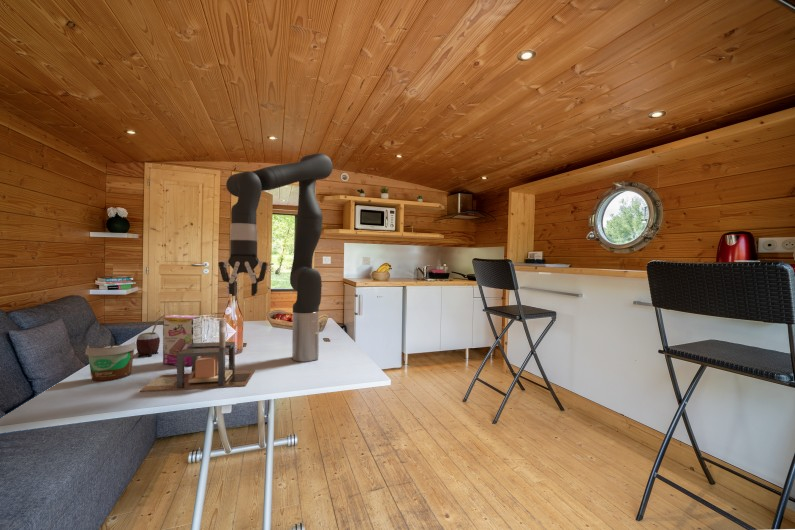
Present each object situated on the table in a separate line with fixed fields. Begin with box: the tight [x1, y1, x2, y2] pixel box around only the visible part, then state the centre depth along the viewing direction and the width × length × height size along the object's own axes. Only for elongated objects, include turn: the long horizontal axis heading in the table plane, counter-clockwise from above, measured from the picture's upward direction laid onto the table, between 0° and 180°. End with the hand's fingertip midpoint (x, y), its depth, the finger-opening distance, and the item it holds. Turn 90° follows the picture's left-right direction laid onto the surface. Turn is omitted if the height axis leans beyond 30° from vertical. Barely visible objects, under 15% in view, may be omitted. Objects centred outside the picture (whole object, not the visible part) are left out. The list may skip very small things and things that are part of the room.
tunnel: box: [139, 341, 256, 393], centre depth 103 cm, size 27×13×10 cm, turn 101°
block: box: [195, 356, 218, 378], centre depth 103 cm, size 5×5×5 cm
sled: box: [188, 319, 233, 383], centre depth 103 cm, size 10×7×17 cm
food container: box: [84, 341, 137, 383], centre depth 104 cm, size 12×6×10 cm, turn 117°
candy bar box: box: [162, 314, 203, 367], centre depth 119 cm, size 11×5×16 cm, turn 84°
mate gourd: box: [135, 314, 166, 358], centre depth 129 cm, size 8×8×15 cm
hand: (243, 295), depth 105 cm, fingers open, 5 cm apart
